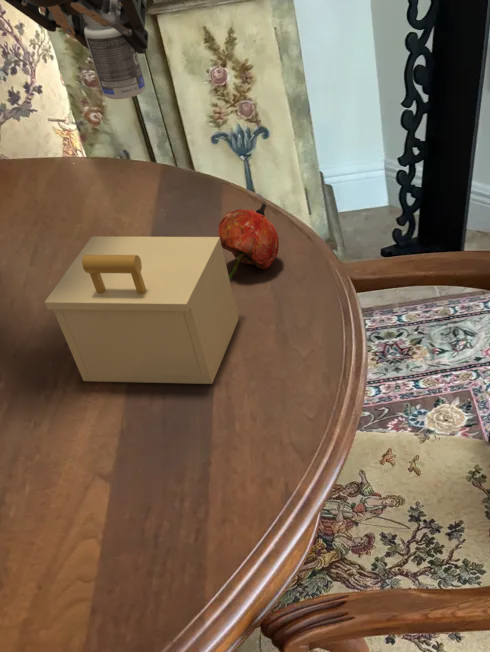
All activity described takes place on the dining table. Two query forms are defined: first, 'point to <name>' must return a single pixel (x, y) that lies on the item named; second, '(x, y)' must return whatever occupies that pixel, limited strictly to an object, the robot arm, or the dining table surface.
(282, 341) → the dining table surface
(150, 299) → the chest lid
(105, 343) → the chest
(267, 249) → the pomegranate
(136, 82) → the pill bottle
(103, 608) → the dining table surface
